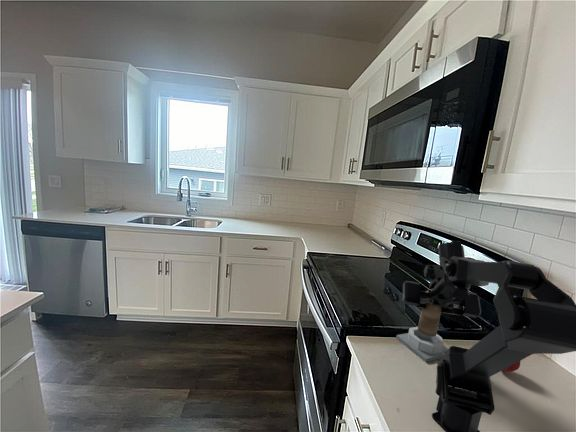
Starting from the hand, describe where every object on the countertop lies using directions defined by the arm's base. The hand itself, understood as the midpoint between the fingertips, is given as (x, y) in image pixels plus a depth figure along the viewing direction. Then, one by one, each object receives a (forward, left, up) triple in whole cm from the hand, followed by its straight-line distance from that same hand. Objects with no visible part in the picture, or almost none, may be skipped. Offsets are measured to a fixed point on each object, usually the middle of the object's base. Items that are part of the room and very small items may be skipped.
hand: (429, 308), depth 82 cm
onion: (-15, -13, -12) cm, 23 cm away
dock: (-1, +1, -12) cm, 12 cm away
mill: (-1, +1, -7) cm, 7 cm away
